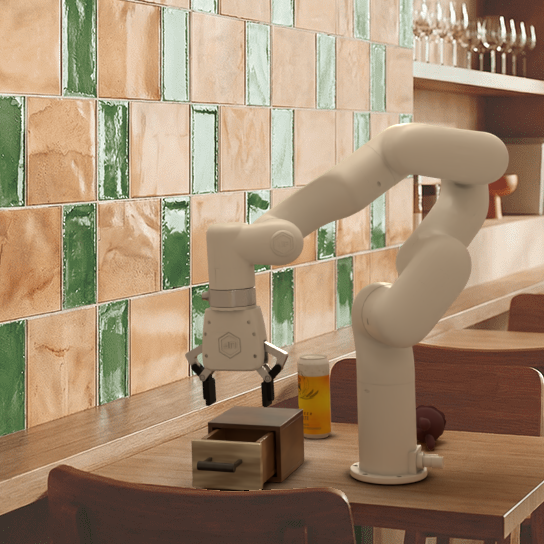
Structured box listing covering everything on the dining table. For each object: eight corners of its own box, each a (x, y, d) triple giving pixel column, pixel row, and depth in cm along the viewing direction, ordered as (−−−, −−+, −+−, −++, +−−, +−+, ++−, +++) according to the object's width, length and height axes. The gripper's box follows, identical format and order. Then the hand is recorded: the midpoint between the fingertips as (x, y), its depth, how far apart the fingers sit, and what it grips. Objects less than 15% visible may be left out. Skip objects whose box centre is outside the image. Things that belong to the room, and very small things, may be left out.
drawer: (250, 500, 176) (249, 452, 176) (181, 495, 180) (179, 447, 180) (284, 471, 192) (282, 427, 192) (219, 466, 196) (218, 423, 196)
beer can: (294, 433, 222) (292, 355, 223) (323, 430, 224) (321, 352, 225) (306, 440, 217) (304, 359, 217) (336, 437, 218) (334, 357, 219)
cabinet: (281, 482, 189) (280, 426, 189) (209, 477, 193) (207, 422, 193) (304, 461, 201) (303, 409, 201) (235, 457, 206) (234, 405, 206)
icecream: (400, 398, 221) (401, 423, 206) (438, 389, 220) (441, 413, 205) (411, 433, 221) (412, 460, 207) (449, 424, 220) (452, 450, 205)
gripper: (174, 302, 187) (180, 408, 187) (277, 301, 181) (283, 411, 181) (191, 296, 194) (197, 398, 194) (290, 295, 188) (297, 401, 188)
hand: (239, 404), depth 187 cm, fingers open, 9 cm apart
